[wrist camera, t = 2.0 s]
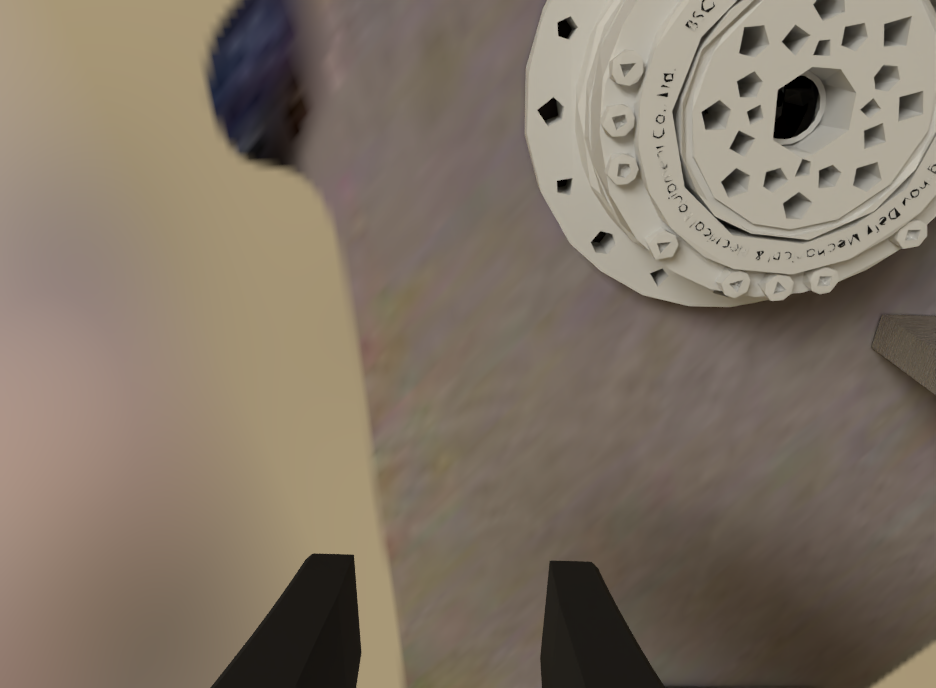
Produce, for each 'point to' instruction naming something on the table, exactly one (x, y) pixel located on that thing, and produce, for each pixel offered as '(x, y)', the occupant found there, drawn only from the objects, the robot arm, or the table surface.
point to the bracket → (909, 345)
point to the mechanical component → (735, 140)
